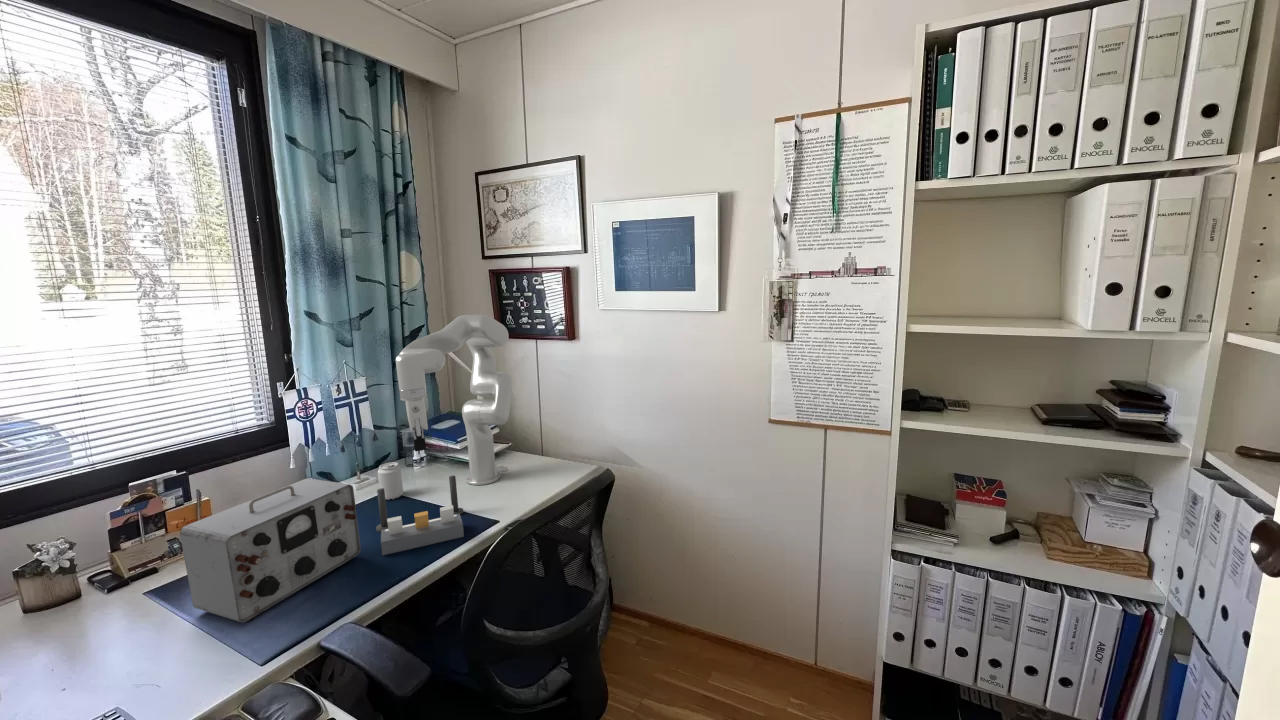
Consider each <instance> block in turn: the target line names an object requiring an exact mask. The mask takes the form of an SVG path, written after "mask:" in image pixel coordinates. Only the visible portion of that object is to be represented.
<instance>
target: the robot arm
mask: <svg viewBox="0 0 1280 720" xmlns="http://www.w3.org/2000/svg"><path fill="white" fill-rule="evenodd" d="M509 339H510V338H509V331H508V329H507V327H506V326H505V325H504V324H503V323H501V322H499V321H498V320H496V319H495V318H493V317H491V316H489V315H486V314H463V315H459V316H457V317H456V318H454V319H453V320H452V321H451V322H449V324H447V325H445V326H444V327H443V328H442V329H441V330H438V331H436V332H433V333H430V334H428V335H424V336H422V337H419V338H417V339H415V340H413V341H412V342H410V343H408V344H407V345H406V346H405V347H404V348H403V349H402V350H401V351H400V352H399V354H398V355H397V356H396V357H395V365H396V373H397V375H396V376H397V381H398V382H397V383H398V389H399V395H400V396H399V397H400V398H399V399H400V401H403V402H405V409H406V415H407V421H408V424H409V425H408V426H409V429H410V431H411V432H412V433H413V438H412V439H413V440H412V441H413V446H414V452H421V451H426V449H427V447H426V438H425V435H424V430H426V431H428V430H429V425H428V418H427V409H426V403H425V398H427V397H428V393H427V384H426V376H425V374H430V373H436V372H439V371H441V370H442V368H444V366H445V364H446V356H445V355H447V354H451V353H453V352H456V351H457V350H459V349H460V348H461V347H462V346H463V345H464V344H466V345H467V347H468V348H469V350H470V352H471V355H472V356H471V357H472V367H471V374H470V375H471V376H470V381H469V382H470V384H469V390H470V392H471V394H472V395H474V396H477V397H494V399H483V398H482V399H479V398H475V399H470V400H467V401H466V402H465V403H464V404H463V405H462V407H461V414H462V415H461V416H462V420H463V424H464V426H465V432H466V441H467V442H466V443H467V453H468V464H469V465H468V466H469V475H467V477H466V478H465V479H466V483H467V484H469V485H472V486H485V485H489V484H492V483H495V482H497V481H498V480H499V479H500V478H501V473H502V472H503V473H506V472H509V468H508V466H504V465H499V466H497V465H496V461H495V459H496V458H495V457H496V456H495V447H494V446H495V445H494V434H493V431H492V429H491V427H490V426H504V424H506V423H507V421H508V419H509V415H510V409H511V401H512V395H513V394H512V393H513V381H512V378H511V376H510V373H508V372H505V371H496V363H497V360H496V356H495V355H494V353H493V352H492V350H491V349H490V348H502V347H504V346H506V345H507V343H508V341H509Z"/></svg>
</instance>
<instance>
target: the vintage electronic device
mask: <svg viewBox="0 0 1280 720" xmlns="http://www.w3.org/2000/svg"><path fill="white" fill-rule="evenodd" d="M355 498H356V497H355V491H354V487H353V485H352V484H349V483H343V482H342V483H341V482H336V481H329V480H322V479H316V478H315V479H314V478H311V477H310V478H309V477H308V478H304V479H302V480H299V481H297V482H294V483H291V484H288V485H287V486H283V487H280V488H278V489H276V490H273V491H271V492H268V493H265V494H263V495H260V496H258V497H255V498H253V499H250V500H248V501H245V502H242V503H240V504H237V505H234V506H232V507H230V508H227V509H225V510H222V511H220V512H217V513H214V514H212V515H210V516H207V517H204V518H202V519H199V520H196V521H193V522H192V523H188V524H186V525H185V526H183V527H182V528H181V529H179V530H180V532H179V536H180V542H181V549H182V552H183V553H182V554H183V559H184V564H185V570H186V575H187V579H188V585H189V591H190V596H191V602H192V606H193V608H194V609H197V610H199V611H200V610H201V611H204V612H207V613H210V614H213V615H217V616H221V617H223V618H227V619H230V620H232V621H236V622H239V623H249V622H251V621H253V620H254V619H255V618H256V617H257V616H258V615H259V614H261V613H263V612H264V611H267V610H268V609H269V608H272V607H273V606H275V605H276V604H278V603H280V602H281V601H283V600H285V599H286V598H287V597H290V596H292V595H293V594H295V593H296V592H298V591H300V590H302V589H303V588H305V587H307V586H309V585H310V584H312V583H313V582H315V581H316V580H318V579H320V578H322V577H324V576H325V575H327V574H328V573H331V572H332V571H333V570H335V569H337V568H338V567H340V566H342V565H346V564H348V563H350V561H351V560H353V559H354V558H356V557H357V556H358V555H359V554H360V553H361V549H362V548H361V547H362V546H361V541H360V533H359V532H360V531H359V524H358V514H357V507H356V499H355Z"/></svg>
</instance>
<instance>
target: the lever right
mask: <svg viewBox="0 0 1280 720" xmlns="http://www.w3.org/2000/svg"><path fill="white" fill-rule="evenodd" d="M439 513H440V515H439V516H440V518H441V523H446V522H451V521H454V510H453V505H452V504H451V505H448V506H443V507H439Z"/></svg>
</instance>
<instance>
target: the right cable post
mask: <svg viewBox="0 0 1280 720" xmlns="http://www.w3.org/2000/svg"><path fill="white" fill-rule="evenodd" d="M456 477H457V476H456V475H449V476H448V479H449V480H448V481H449V492H450V493H449V494H450V501H451V506H452V505H453V510H454V515H455V514H461V515H463V514H464V508H463V507H459V502H458V501H459V500H458V492H457V490H458V489H457V488H458V487H457V478H456ZM462 513H463V514H462Z"/></svg>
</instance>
